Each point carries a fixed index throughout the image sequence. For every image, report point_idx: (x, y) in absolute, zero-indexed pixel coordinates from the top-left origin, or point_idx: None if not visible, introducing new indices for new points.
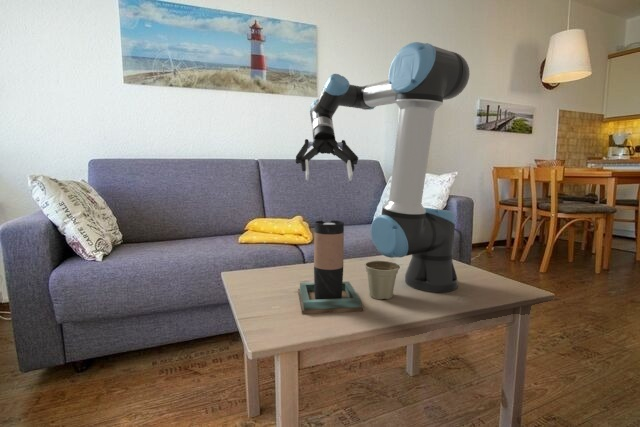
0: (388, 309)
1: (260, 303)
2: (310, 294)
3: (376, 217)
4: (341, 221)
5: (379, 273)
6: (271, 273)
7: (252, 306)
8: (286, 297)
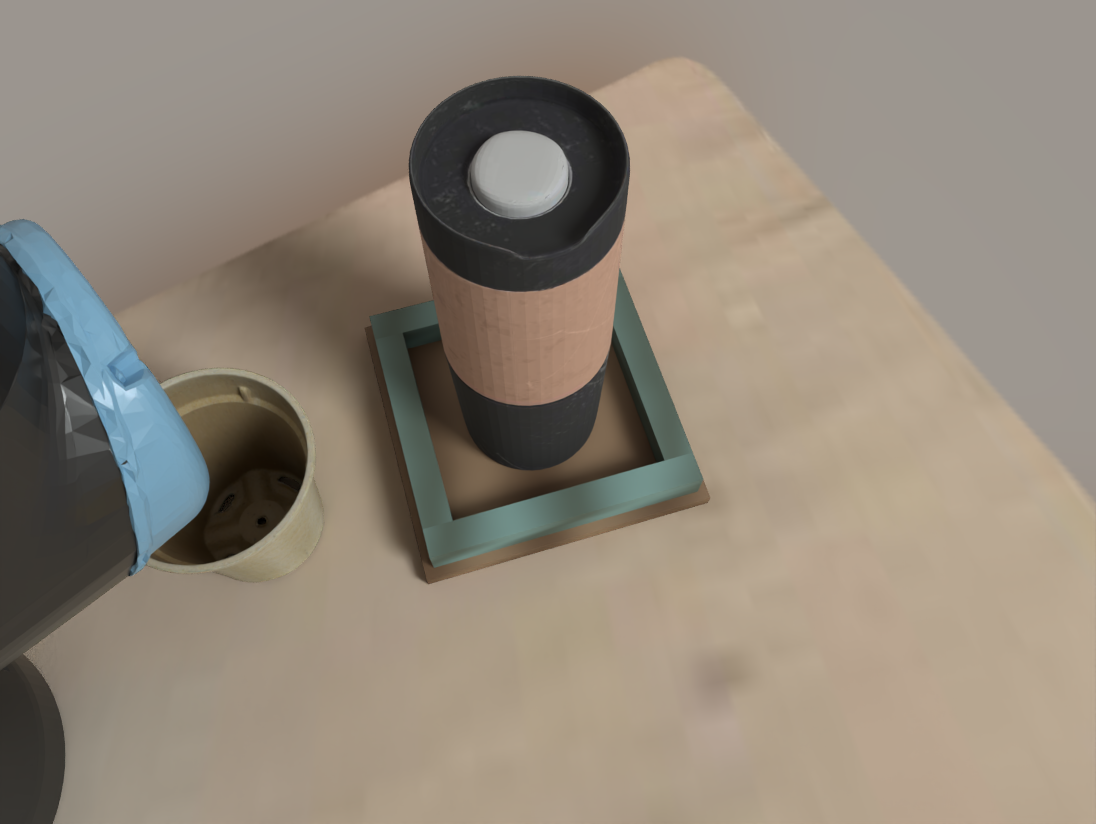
0: (255, 369)
1: (824, 334)
2: (623, 432)
3: (110, 327)
4: (427, 208)
5: (243, 385)
6: (1004, 810)
7: (842, 301)
8: (737, 417)
